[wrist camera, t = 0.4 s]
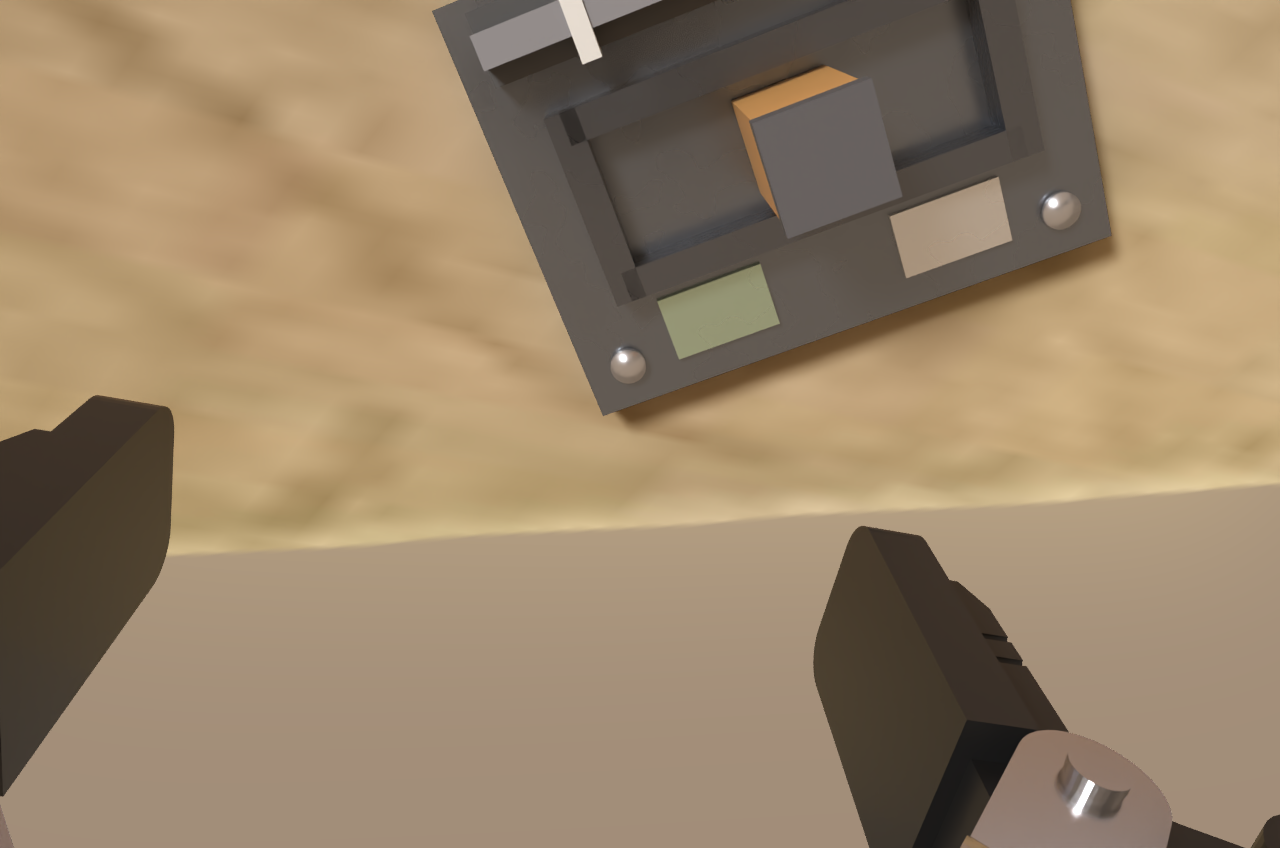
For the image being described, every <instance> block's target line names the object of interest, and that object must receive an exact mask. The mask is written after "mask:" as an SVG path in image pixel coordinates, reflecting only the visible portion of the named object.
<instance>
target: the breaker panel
mask: <svg viewBox="0 0 1280 848" xmlns="http://www.w3.org/2000/svg"><path fill="white" fill-rule="evenodd" d="M494 1H496V0H458V1H456V2H453V3H451V4H448V5H446V6H443V7H441V8H438V9H436V10H434V11H432V12H433V15H434V17H435V19H436V22H437V24H438V26H439V29H440V31H441V33H442V36H443V38H444V41H445V43H446V45H447V48H448V50H449V52H450V55H451V57H452V59H453V62H454V64H455V67H456V69H457V71H458V74H459V76H460V78H461V81H462V83H463V86H464V88H465V90H466V93H467V95H468V97H469V100H470V102H471V104H472V107H473V109H474V112H475V114H476V116H477V119H478V121H479V123H480V126H481V128H482V130H483V133H484V135H485V138H486V140H487V142H488V145H489V147H490V149H491V152H492V154H493V157H494V159H495V161H496V164H497V166H498V168H499V171H500V173H501V175H502V178H503V180H504V183H505V185H506V187H507V190H508V192H509V194H510V197H511V199H512V202H513V204H514V206H515V209H516V211H517V213H518V216H519V218H520V220H521V223H522V225H523V228H524V230H525V232H526V235H527V237H528V239H529V242H530V244H531V246H532V249H533V251H534V254H535V256H536V258H537V261H538V263H539V265H540V268H541V270H542V273H543V275H544V277H545V280H546V282H547V284H548V287H549V289H550V291H551V294H552V296H553V299H554V301H555V303H556V306H557V308H558V310H559V313H560V315H561V318H562V320H563V322H564V325H565V327H566V329H567V332H568V334H569V336H570V339H571V341H572V344H573V346H574V348H575V351H576V353H577V355H578V358H579V360H580V362H581V365H582V367H583V370H584V372H585V374H586V377H587V379H588V381H589V384H590V386H591V389H592V391H593V393H594V396H595V398H596V400H597V403H598V405H599V407H600V410H601V412H602V415H603V416H604V415H607V414H610V413H613V412H616V411H618V410H621V409H624V408H627V407H630V406H632V405H635V404H638V403H641V402H644V401H647V400H649V399H652V398H655V397H658V396H661V395H663V394H666V393H669V392H672V391H675V390H678V389H680V388H683V387H686V386H689V385H692V384H695V383H697V382H700V381H703V380H706V379H709V378H711V377H714V376H717V375H720V374H723V373H726V372H728V371H731V370H734V369H737V368H740V367H742V366H745V365H748V364H751V363H754V362H757V361H759V360H762V359H765V358H768V357H771V356H774V355H776V354H779V353H782V352H785V351H788V350H790V349H793V348H796V347H799V346H802V345H805V344H807V343H810V342H813V341H816V340H819V339H822V338H824V337H827V336H830V335H833V334H836V333H838V332H841V331H844V330H847V329H850V328H853V327H855V326H858V325H861V324H864V323H867V322H869V321H872V320H875V319H878V318H881V317H884V316H886V315H889V314H892V313H895V312H898V311H901V310H903V309H906V308H909V307H912V306H915V305H917V304H920V303H923V302H926V301H929V300H932V299H934V298H937V297H940V296H943V295H946V294H948V293H951V292H954V291H957V290H960V289H963V288H965V287H968V286H971V285H974V284H977V283H980V282H982V281H985V280H988V279H991V278H994V277H996V276H999V275H1002V274H1005V273H1008V272H1011V271H1013V270H1016V269H1019V268H1022V267H1025V266H1027V265H1030V264H1033V263H1036V262H1039V261H1042V260H1044V259H1047V258H1050V257H1053V256H1056V255H1059V254H1061V253H1064V252H1067V251H1070V250H1073V249H1075V248H1078V247H1081V246H1084V245H1087V244H1090V243H1092V242H1095V241H1098V240H1101V239H1104V238H1106V237H1109V236H1112V235H1111V230H1110V224H1109V218H1108V212H1107V207H1106V201H1105V195H1104V190H1103V184H1102V178H1101V172H1100V167H1099V161H1098V155H1097V149H1096V144H1095V138H1094V132H1093V126H1092V121H1091V115H1090V109H1089V104H1088V98H1087V92H1086V86H1085V81H1084V75H1083V69H1082V63H1081V58H1080V52H1079V46H1078V41H1077V35H1076V29H1075V23H1074V18H1073V12H1072V6H1071V0H717V1H715V2H712V3H710V4H707V5H705V6H702V7H700V8H697V9H695V10H692V11H690V12H687V13H685V14H682V15H680V16H677V17H675V18H672V19H670V20H667V21H665V22H662V23H660V24H657V25H654V26H652V27H649V28H647V29H644V30H642V31H639V32H637V33H634V34H632V35H629V36H627V37H624V38H622V39H619V40H617V41H614V42H612V43H609V44H607V45H604V46H602V47H601V50H602V57H600V58H598V59H595V60H593V61H590V62H588V63H585V64H582V62H581V59H580V56H577V57H574V58H572V59H569V60H567V61H564V62H562V63H559V64H557V65H554V66H551V67H549V68H546V69H544V70H541V71H539V72H536V73H534V74H531V75H529V76H526V77H524V78H521V79H519V80H516V81H514V82H511V83H509V84H506V85H504V86H501V87H499V88H496V89H495V86H494V84H493V81H492V79H491V76H490V74H489V72H488V70H486V71H484V70H483V68H482V65H481V63H480V60H479V58H478V55H477V53H476V51H475V48H474V46H473V43H472V41H471V38H470V36H471V35H473V33H472V30H471V28H470V25H469V23H468V20H467V18H466V16H465V13H467V12H469V11H472V10H474V9H477V8H479V7H482V6H484V5H486V4H489V3H491V2H494ZM822 65H826V66H829V67H831V68H833V69H836V70H838V71H841V72H843V73H845V74H848V75H850V76H853V77H855V78H857V79H859V78H862V77H864V76H868V77H871V78H872V81H873V85H874V88H875V92H876V96H877V100H878V104H879V108H880V112H881V115H882V119H883V123H884V127H885V131H886V135H887V139H888V143H889V146H890V150H891V154H892V158H893V162H894V166H895V170H896V173H897V177H898V181H899V185H900V189H901V193H902V197H900V198H898V199H895V200H892V201H890V202H887V203H884V204H881V205H879V206H876V207H873V208H870V209H868V210H865V211H862V212H860V213H857V214H854V215H851V216H849V217H846V218H843V219H841V220H838V221H835V222H832V223H830V224H827V225H824V226H821V227H819V228H816V229H813V230H811V231H808V232H805V233H802V234H800V235H797V236H794V237H792V238H789V239H787V237H786V236H785V234H784V232H783V229H782V226H781V222H780V219H779V218H778V217H777V215H776V214H775V212H774V211H773V210H772V208H771V207H770V206H769V204H768V203H767V201H766V200H765V199H764V197H763V196H762V194H761V193H760V191H759V188H758V184H757V181H756V178H755V175H754V172H753V169H752V165H751V162H750V159H749V156H748V153H747V150H746V147H745V143H744V140H743V137H742V134H741V131H740V128H739V125H738V121H737V118H736V115H735V112H734V109H733V106H732V103H731V101H732V100H734V99H737V98H739V97H742V96H745V95H747V94H750V93H752V92H755V91H757V90H760V89H763V88H765V87H768V86H770V85H773V84H776V83H778V82H781V81H783V80H786V79H789V78H791V77H794V76H796V75H799V74H802V73H804V72H807V71H809V70H812V69H815V68H817V67H820V66H822Z"/></svg>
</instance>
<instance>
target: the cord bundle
mask: <svg viewBox="0 0 1280 848" xmlns="http://www.w3.org/2000/svg"><path fill="white" fill-rule="evenodd" d="M715 1H717V0H496V1H494V2H491V3H489V4H486V5H484V6H482V7H479V8H477V9H474V10H472V11H469V12H467V13H465V16H466V18H467V20H468V23H469V25H470V28H471V30H472V33H473V35H471V36H470V38H471V41H472V43H473V46H474V48H475V51H476V53H477V55H478V58H479V60H480V63H481V65H482V68H483V70H484V71H486V70H488V72H489V74H490V76H491V79H492V81H493V84H494V86H495V89H496V88H499V87H501V86H504V85H506V84H509V83H511V82H514V81H516V80H519V79H521V78H524V77H526V76H529V75H531V74H534V73H536V72H539V71H541V70H544V69H546V68H549V67H551V66H554V65H557V64H559V63H562V62H564V61H567V60H569V59H572V58H574V57H577V56H580V59H581V62H582V64H585V63H588V62H590V61H593V60H595V59H598V58H600V57H602V50H601V47H602V46H604V45H607V44H609V43H612V42H614V41H617V40H619V39H622V38H624V37H627V36H629V35H632V34H634V33H637V32H639V31H642V30H644V29H647V28H649V27H652V26H654V25H657V24H660V23H662V22H665V21H667V20H670V19H672V18H675V17H677V16H680V15H682V14H685V13H687V12H690V11H692V10H695V9H697V8H700V7H702V6H705V5H707V4H710V3H712V2H715Z"/></svg>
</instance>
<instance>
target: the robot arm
mask: <svg viewBox="0 0 1280 848" xmlns="http://www.w3.org/2000/svg"><path fill="white" fill-rule="evenodd" d="M173 447H174V421H173V416H172V413H171V411H170V409H169V408H168V407H165V406H159V405H153V404H147V403H141V402H135V401H130V400H124V399H118V398H112V397H106V396H100V395H96V396H93V397H91V398H90V399H89V400H88V401H86V402H85V403H84V404H83V405H82V406H80V407H79V408H78V409H77V410H76V411H75V412H73V413H72V414H71V415H70V416H69V417H68V418H66V419H65V420H64V421H63V422H62V423H60V424H59V425H58V426H57V427H56V428H55V429H53V430H52V431H51V432H50V431H44V430H38V429H33V430H31V431H28V432H25V433H22V434H20V435H17V436H14V437H12V438H9V439H6V440H3V441H1V442H0V796H4V795H5V793H6V792H7V790H8V789H9V788H10V786H11V785H12V783H13V782H14V781H15V779H16V778H17V776H18V775H19V774H20V772H21V771H22V769H23V768H24V766H25V765H26V764H27V762H28V761H29V759H30V758H31V757H32V755H33V754H34V752H35V751H36V750H37V748H38V747H39V745H40V744H41V743H42V741H43V740H44V738H45V737H46V736H47V734H48V732H49V731H50V730H51V728H52V727H53V726H54V724H55V723H56V722H57V720H58V719H59V717H60V716H61V714H62V713H63V711H64V710H65V709H66V707H67V706H68V705H69V703H70V702H71V700H72V699H73V697H74V696H75V695H76V693H77V692H78V691H79V689H80V688H81V686H82V685H83V684H84V682H85V680H86V679H87V678H88V676H89V675H90V674H91V672H92V671H93V669H94V668H95V667H96V665H97V664H98V662H99V661H100V660H101V658H102V657H103V655H104V654H105V653H106V651H107V650H108V648H109V647H110V645H111V644H112V643H113V641H114V640H115V638H116V637H117V636H118V634H119V633H120V631H121V630H122V629H123V627H124V626H125V624H126V623H127V622H128V620H129V619H130V617H131V616H132V615H133V613H134V612H135V610H136V609H137V608H138V606H139V605H140V603H141V602H142V601H143V599H144V598H145V596H146V595H147V594H148V592H149V591H150V589H151V588H152V586H153V585H154V583H155V582H156V580H157V578H158V576H159V573H160V571H161V569H162V566H163V563H164V560H165V557H166V553H167V549H168V544H169V538H170V527H171V501H172V474H173ZM1007 638H1008V637H1007V635H1006V634H1005V632H1004V631H1003V629H1002V627H1001V626H1000V624H999V623H998V621H997V620H996V618H995V617H994V615H993V614H992V612H991V610H990V609H989V608H988V607H987V606H986V605H984V604H983V603H982V602H981V601H980V600H978V599H977V598H976V597H975V596H974V595H973V594H972V593H970V592H969V591H968V590H967V589H966V588H965V587H963V586H962V585H961V584H960V583H959V582H957V581H951V580H949V579H948V577H947V576H946V574H945V572H944V571H943V569H942V567H941V566H940V564H939V562H938V561H937V559H936V557H935V556H934V554H933V552H932V551H931V549H930V547H929V546H928V545H927V542H926V541H925V540H924V539H923V538H922V537H921V536H918V535H913V534H907V533H901V532H895V531H890V530H883V529H878V528H872V527H866V526H861V527H858V528H857V529H856V530H855V531H854V533H853V534H852V536H851V538H850V540H849V542H848V545H847V547H846V550H845V553H844V556H843V559H842V562H841V565H840V568H839V571H838V574H837V577H836V580H835V583H834V586H833V588H832V591H831V594H830V597H829V600H828V603H827V606H826V609H825V612H824V615H823V618H822V621H821V624H820V627H819V630H818V633H817V637H816V642H815V648H814V662H813V663H814V677H815V682H816V686H817V689H818V692H819V695H820V698H821V701H822V704H823V707H824V711H825V714H826V717H827V720H828V723H829V726H830V729H831V732H832V734H833V738H834V741H835V744H836V747H837V750H838V753H839V756H840V759H841V762H842V765H843V769H844V771H845V774H846V778H847V781H848V784H849V787H850V790H851V793H852V796H853V799H854V802H855V805H856V808H857V811H858V814H859V817H860V820H861V823H862V826H863V829H864V832H865V836H866V838H867V842H868V845H869V848H1243V847H1241V846H1238V845H1235V844H1233V843H1230V842H1227V841H1224V840H1222V839H1219V838H1216V837H1213V836H1210V835H1208V834H1205V833H1202V832H1200V831H1197V830H1194V829H1191V828H1188V827H1186V826H1183V825H1180V824H1178V823H1175V822H1173V821H1172V813H1171V809H1170V806H1169V804H1168V802H1167V800H1166V798H1165V796H1164V795H1163V793H1162V792H1161V790H1160V789H1159V788H1158V786H1157V785H1156V784H1155V783H1154V782H1153V781H1152V779H1150V778H1149V777H1148V776H1147V775H1146V774H1145V773H1144V772H1143V771H1142V770H1141V769H1140V768H1138V767H1137V766H1136V765H1135V764H1133V763H1132V762H1131V761H1129V760H1128V759H1126V758H1125V757H1123V756H1122V755H1120V754H1119V753H1117V752H1115V751H1114V750H1112V749H1110V748H1108V747H1107V746H1105V745H1102V744H1100V743H1098V742H1096V741H1094V740H1091V739H1088V738H1086V737H1083V736H1080V735H1077V734H1073V733H1069V732H1068V730H1067V729H1066V727H1065V725H1064V724H1063V722H1062V721H1061V719H1060V718H1059V716H1058V715H1057V713H1056V711H1055V710H1054V708H1053V707H1052V705H1051V704H1050V702H1049V701H1048V699H1047V698H1046V696H1045V694H1044V693H1043V691H1042V690H1041V688H1040V687H1039V685H1038V683H1037V682H1036V680H1035V679H1034V677H1033V676H1032V674H1031V673H1030V671H1029V670H1028V668H1027V667H1026V666H1022V661H1023V660H1022V659H1021V657H1020V655H1019V654H1018V652H1017V651H1016V649H1015V648H1014V646H1013V645H1012V643H1010V642H1007ZM0 848H14V846H13V843H12V840H11V837H10V834H9V831H8V828H7V825H6V822H5V819H4V816H3V813H2V810H1V806H0ZM1251 848H1280V815H1277V816H1273V817H1272V818H1270V819H1269V820H1268V821H1267V822H1266V824H1265V825H1264V827H1263V829H1262V830H1261V832H1260V833H1259V835H1258V837H1257V838H1256V840H1255V842H1254V843H1253V845H1252V847H1251Z"/></svg>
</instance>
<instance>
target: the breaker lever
mask: <svg viewBox="0 0 1280 848" xmlns="http://www.w3.org/2000/svg"><path fill="white" fill-rule="evenodd" d="M731 103H732V106H733V109H734V112H735V115H736V118H737V121H738V125H739V128H740V131H741V134H742V137H743V140H744V143H745V147H746V150H747V153H748V156H749V159H750V162H751V165H752V169H753V172H754V175H755V178H756V181H757V184H758V188H759V191H760V193H761V194H762V196H763V197H764V199H765V200H766V201H767V203H768V204H769V206H770V207H771V208H772V210H773V211H774V212H775V214H776V215H777V217H778V218H779V219H780V222H781V226H782V229H783V232H784V234H785V236H786V237H787V239H789V238H792V237H794V236H797V235H800V234H802V233H805V232H808V231H811V230H813V229H816V228H819V227H821V226H824V225H827V224H830V223H832V222H835V221H838V220H841V219H843V218H846V217H849V216H851V215H854V214H857V213H860V212H862V211H865V210H868V209H870V208H873V207H876V206H879V205H881V204H884V203H887V202H890V201H892V200H895V199H898V198H900V197H902V193H901V189H900V185H899V181H898V177H897V173H896V170H895V166H894V162H893V158H892V154H891V150H890V146H889V143H888V139H887V135H886V131H885V127H884V123H883V119H882V115H881V112H880V108H879V104H878V100H877V96H876V92H875V88H874V85H873V81H872V78H871V77H868V76H864V77H862V78H859V79H857V78H855V77H853V76H850V75H848V74H845V73H843V72H841V71H838V70H836V69H833V68H831V67H829V66H826V65H822V66H820V67H817V68H815V69H812V70H809V71H807V72H804V73H802V74H799V75H796V76H794V77H791V78H789V79H786V80H783V81H781V82H778V83H776V84H773V85H770V86H768V87H765V88H763V89H760V90H757V91H755V92H752V93H750V94H747V95H745V96H742V97H739V98H737V99H734V100H732V101H731Z"/></svg>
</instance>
